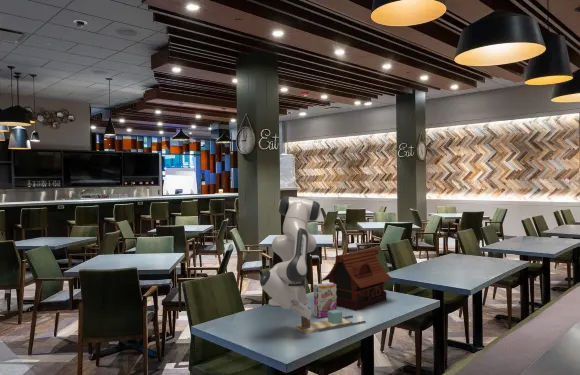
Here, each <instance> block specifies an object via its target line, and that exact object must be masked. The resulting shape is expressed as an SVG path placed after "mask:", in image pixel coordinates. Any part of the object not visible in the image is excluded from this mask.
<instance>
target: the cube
mask: <svg viewBox="0 0 580 375" xmlns="http://www.w3.org/2000/svg"><path fill="white" fill-rule="evenodd" d="M342 317H343V312H342V311H340V310H338V309H337V310H331V311H328V317H327V320H328V322H330V323H332V324H337V323H342Z"/></svg>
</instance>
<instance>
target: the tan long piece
mask: <svg viewBox="0 0 580 375" xmlns="http://www.w3.org/2000/svg"><path fill="white" fill-rule="evenodd" d="M306 307H307V308H308V309H309V310H311V308H310V307H308V306H306ZM300 318H301V320H300V321H301V324H299V325H295V329H296V330H298V331H299V332H301V333H303V334H305V335H306V334H311V333H317V332H319V330H320V329H325V328H330V327H335V326H340V325H346V324H351V323H353V321H351V320H349V319H348V318H347V319H345V318H342V323H337V324H332V323H330V322H328V319H325V321H324V320H319V321H314V323H313V322H311V318H310V319H309V320H308V319H306V318H305V317H303V316H301V315H300Z"/></svg>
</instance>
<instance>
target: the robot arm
mask: <svg viewBox="0 0 580 375" xmlns="http://www.w3.org/2000/svg"><path fill="white" fill-rule="evenodd" d="M277 207H278V212H279V215H281V216H285V218H284V221H283V224H282V232H283V235H278V236H275V237H273V239H272V242H271V247H272V250H273V252H274V253H275V254H276V255H277V256H279V258H280V259H281V260H282V261H281V262H278V263H276V264H274V265H273V266H272V268H270V269H269V270H265V271H264V272H263V273H262V275H261V276H260V278H259V284H260V287H261V288H262V289H263V291H264V292H265V293H266V294H267V295H268V296H269V297H270V299H269V300H268V305H269V306H271V307H281V308H282V309H284V310H287V309H288V310H290V311H291V312H293V313H295V314H297V315H300V317H301V316H303V317H305V318H306V319H308V320H309V319H310V320H311V316H312V314H313V312H312V310H311V309H310V310H309V309H308V308H309V307H308V306H306V304H308V303H309V301H308V298H307V293H306V291H307V290H306V285H307V284H306V282H307V281H306V278H307V275H308V261H307V260H308V253H311V252H314V251H315V249H316V247H317V240H316V238H315V236H314V235H313V234H311V233H310V232H309V231H308V225H309V221H310V222H315V221H317V220H318V219H319V217H320V215H321V211H322V210H321V205H320V203H319V202H318V201H316V200H310V199H307V198H303V197H296V196H290V195H284V196H283V197H281V198H280V200H279V202H278V206H277ZM307 307H308V308H307Z"/></svg>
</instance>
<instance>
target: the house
mask: <svg viewBox="0 0 580 375" xmlns="http://www.w3.org/2000/svg"><path fill="white" fill-rule="evenodd" d="M377 255H379V248H377V247H372V248H367V249H363V250H358V251H353V252H348V253H343V254H336V255H335V261H334V264H333V266H332V268H331V269H330V271H329V273H327V274H326V275H325V276H324V277H323V278H322V279H321V280H320V281H321V282H325V281H328V283H334V284H336V285H337V308H342V309H345V310H346V309H347V310H350V311H354V312H356V311H359V310H362V309H365V308H368V306H369V307H371V306H374V304H375V305H378V304H380V303H383V302H385V301H387V291H386V290H385V285H386V282H388V281H390V280H391V281H392V280H393V277H391V275H389V273H387V271H386V270H385V269H384V268H383V266H382V265H381V263H380V261H379V259H378V257H377ZM377 303H378V304H377Z"/></svg>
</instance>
